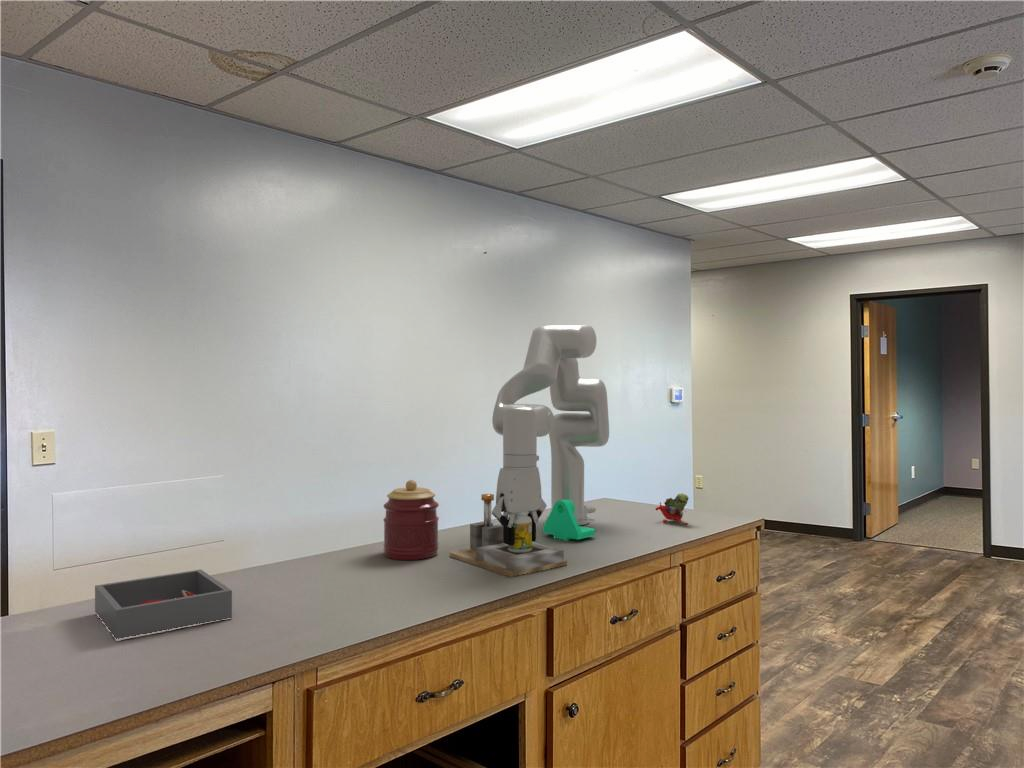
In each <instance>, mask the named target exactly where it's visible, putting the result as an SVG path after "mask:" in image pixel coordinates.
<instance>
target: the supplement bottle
mask: <svg viewBox="0 0 1024 768" xmlns="http://www.w3.org/2000/svg"><path fill="white" fill-rule="evenodd" d="M528 513H529V512H527V511H526V512H522V513H519V514H515V517H514V521H513V525H512V527H514V528H515V544H514V545H512V546H511V545H508V550H509V551H511V552H515V553H525V552H529V551H531V550H532V542H533V541H532V520H531V518H530V517H529V516H527V515H528Z"/></svg>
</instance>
